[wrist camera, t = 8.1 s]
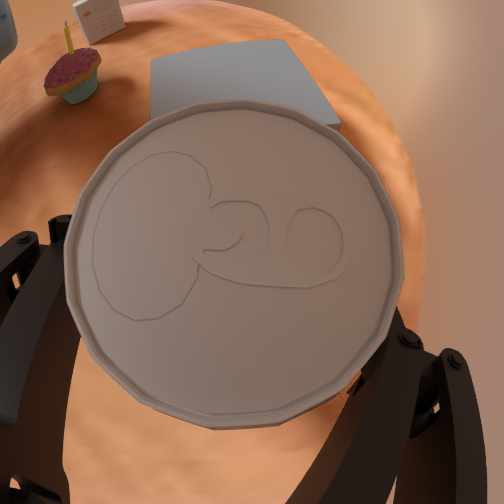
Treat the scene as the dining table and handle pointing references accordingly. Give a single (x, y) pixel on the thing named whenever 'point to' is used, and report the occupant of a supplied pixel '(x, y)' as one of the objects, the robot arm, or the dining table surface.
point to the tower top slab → (237, 79)
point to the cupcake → (73, 73)
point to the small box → (98, 18)
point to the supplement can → (233, 263)
